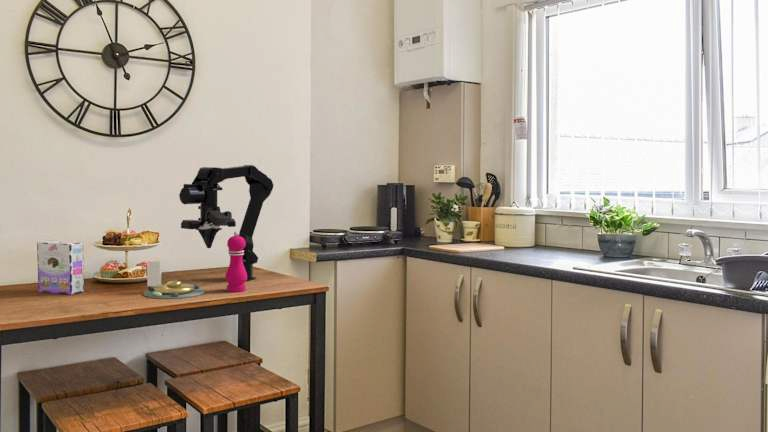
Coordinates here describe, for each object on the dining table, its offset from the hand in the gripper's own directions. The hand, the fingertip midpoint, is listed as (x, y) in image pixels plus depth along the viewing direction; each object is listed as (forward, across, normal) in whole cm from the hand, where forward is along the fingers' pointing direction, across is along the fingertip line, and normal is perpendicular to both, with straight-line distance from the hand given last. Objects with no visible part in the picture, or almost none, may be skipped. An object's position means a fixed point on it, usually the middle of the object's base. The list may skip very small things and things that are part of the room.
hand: (208, 248), depth 233 cm
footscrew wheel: (+12, -17, -4) cm, 21 cm away
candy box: (+13, -42, +21) cm, 49 cm away
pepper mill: (+13, +1, -15) cm, 20 cm away
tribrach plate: (+13, -16, -5) cm, 22 cm away
